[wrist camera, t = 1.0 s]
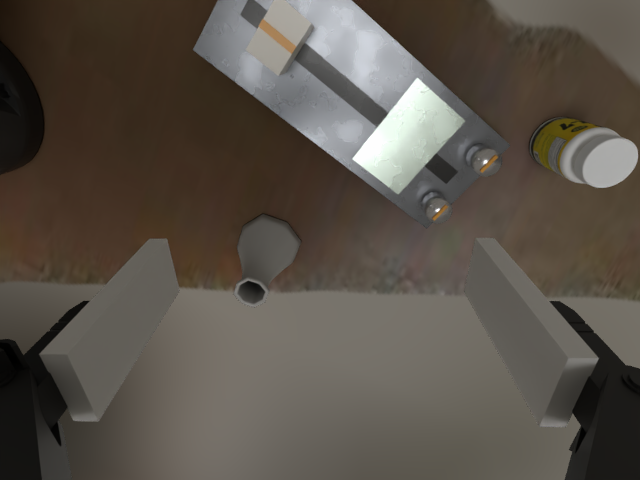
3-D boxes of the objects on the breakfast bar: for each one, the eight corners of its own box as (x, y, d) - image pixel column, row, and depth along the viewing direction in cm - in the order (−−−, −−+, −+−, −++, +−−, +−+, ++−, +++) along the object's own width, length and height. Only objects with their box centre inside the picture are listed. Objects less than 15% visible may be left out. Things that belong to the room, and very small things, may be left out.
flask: (261, 202, 40) (239, 244, 31) (312, 239, 42) (305, 289, 33) (227, 246, 42) (197, 296, 34) (276, 279, 44) (261, 335, 35)
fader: (256, 50, 31) (244, 49, 27) (284, 1, 29) (277, -7, 25) (284, 73, 32) (277, 76, 28) (314, 27, 30) (311, 23, 26)
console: (200, 50, 33) (181, 49, 29) (265, -75, 29) (253, -97, 25) (422, 220, 40) (432, 239, 36) (501, 140, 35) (523, 151, 31)
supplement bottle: (587, 118, 34) (657, 135, 27) (568, 166, 36) (628, 195, 29) (537, 114, 34) (592, 130, 27) (521, 162, 36) (568, 190, 29)
